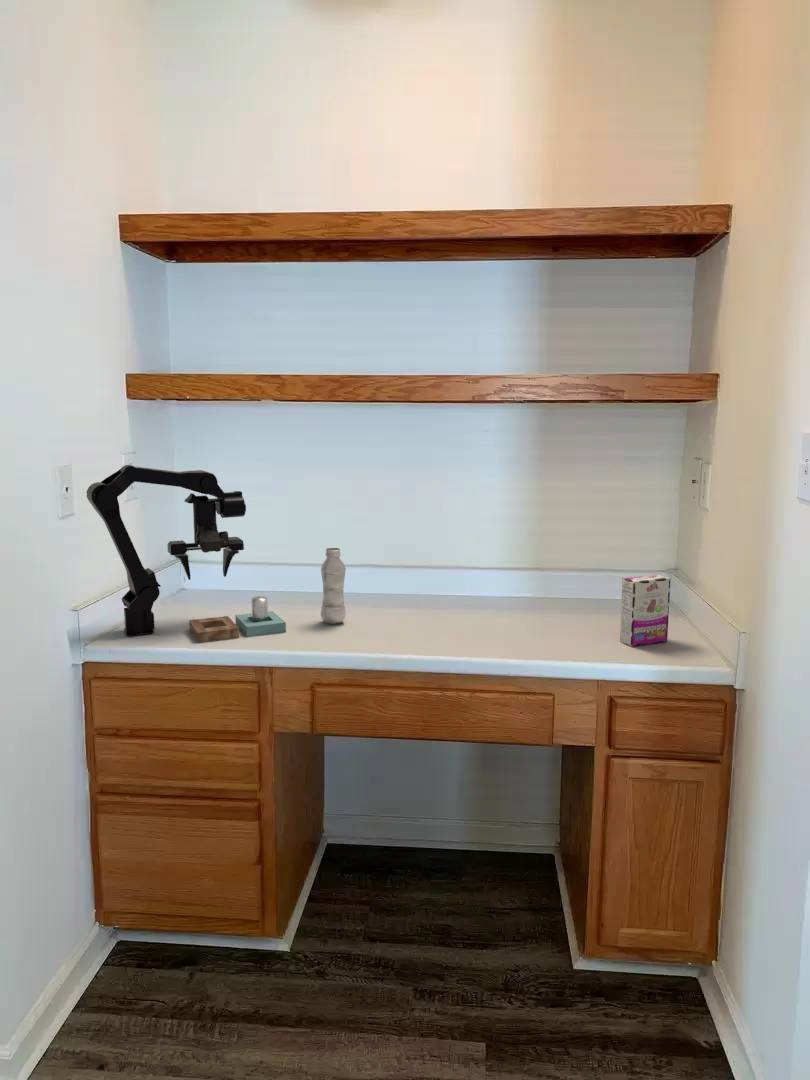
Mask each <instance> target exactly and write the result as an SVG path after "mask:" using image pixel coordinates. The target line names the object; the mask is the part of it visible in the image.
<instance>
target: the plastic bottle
mask: <svg viewBox="0 0 810 1080" xmlns="http://www.w3.org/2000/svg"><path fill="white" fill-rule="evenodd" d="M325 557H326V559H325V560H324V561H323V562H322V564H321V567H320V573H321V580H322V602H321V604H322V605H321V609H320V617H321V618H320V619H321V620H322V622H323V623H325V624H332V623H334V624H340V623H343V622H344V620H345V619H346V613H347V611H346V605H345V597H344V588H345V587H344V586H345V578H346V577H345V576H346V569H347V568H346V565H345V563H344V562H343V561H342V559H341V548H338V547H326V549H325Z"/></svg>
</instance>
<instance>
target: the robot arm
mask: <svg viewBox="0 0 810 1080" xmlns="http://www.w3.org/2000/svg"><path fill="white" fill-rule="evenodd" d="M135 482H136V483H143V484H150V485H151V484H152V485H153V484H154V485H161V486H170V487H178V488H182V489H186V490H189V491H193V492H196V493H199V494H203V495H195V493H191V492H190V493H189V495H188V497H186V498H185V499H184V502H185V503H187V504H192V509H193V511H192V513H193V514H192V515H193V535H194V537H193V540H194V542H189V543H188V542H185V541H184V540H182V539H181V540H170V541H169V542H168V543H167V552H168V553H169V555H170V556H174V557H175V558H176V559H178V560H179V561H180V562H181V565H182V566H183V570H184V572H185V575H186V577H187V580H189V581H190V580H191V570H190V565H189V562H190V561H189V555H188V553H187V552H188V551H189V552H190V551H202V553H206V554H207V553H209V552H217V553H218V552H220V551H221V550H222V549H223V550H222V553H223V555H222V575H223V577H227V574H228V570H229V567H230V564H231V562H232V560H233V558H234V556H235V555H237V554H239V553H240V551H243V550H245V543H244V541H243V540H242V538H240V537H239V536H229V533H228V531H227V530H226V531H225V530H224V531H219V530H218V524H217V515H220V518H222V519H228V518H239V517H241V518H242V517H245V515H246V511H247V505H246V502H245V498H244V497H243V492H242V491H241V490H240V491H239V490H235V491H230V492H227V491H226V492H225V491H224V490H223V489H222V488H221V487H220V485H219V484H218V479H217V476H216V475H215V474H214V473H213V472H210V471H205V470H202V469H201V470H200V469H198V470H184V471H173V470H165V469H157V468H150V467H149V468H147V467H141V466H134V465H131V464H125V465H123V466H122V467H121V468H120V469H119V470H117V471H115V472H113V473H112V474H111V475H109V476H107V477H106V478H104V479H103V480H102V481H97V482H93V483H92V484H90V485H89V486H88V488H87V490H86V492H85V494H86V493H87V495H86V498H87V500H88V502H89V504H91V506H92V508H93V509H94V510H95V512H96V514H98V515H99V517H100V518H101V519H102V521H103V523H104V524H105V527H106V529H107V531H108V533H109V535H110V537H111V539H112V540H111V541H112V542H113V544H114V546H115V548H116V549H115V550H116V551H117V554H118V555H119V557H120V559H121V562H122V564H123V565H124V569H125V571H126V576H127V584H128V588H129V590H128V591H127V592H126V593H125V594H124V595H123V596H122V598H121V602H122V603H123V606H124V608H123V614H124V615H123V616H124V628H123V632H124V633H125V635H126V637H133V636H144V635H149V634H150V635H151V634H152V635H153V634H154V633H155V632H154V630H155V628H156V627H155V613H154V612H153V611H152V609H153V605H154V604H155V602H156V601H157V600H158V599H159V596H160V593H161V591H160V588H161V587H162V585H160V584H159V582H158V581H157V577H156V574H155V572H154V571H153V570H151V568H149V567H147V568H145V567H144V566H143V564H142V561H141V559H140V557H139V554H138V552H137V550H136V548H135V545H134V543H133V541H132V539H131V537H130V535H129V533H128V530H127V528H126V525H125V524H124V522H123V518H122V517H121V510H120V503H119V500H118V497H119V496H121V495H122V494H123V493H124V492H125V491H126V490H127V489H128V488H129V487H130V486H131V485H133V484H134V483H135ZM207 495H209V496H211V497H215V498H209V497H208V496H207ZM159 587H160V588H159Z"/></svg>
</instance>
